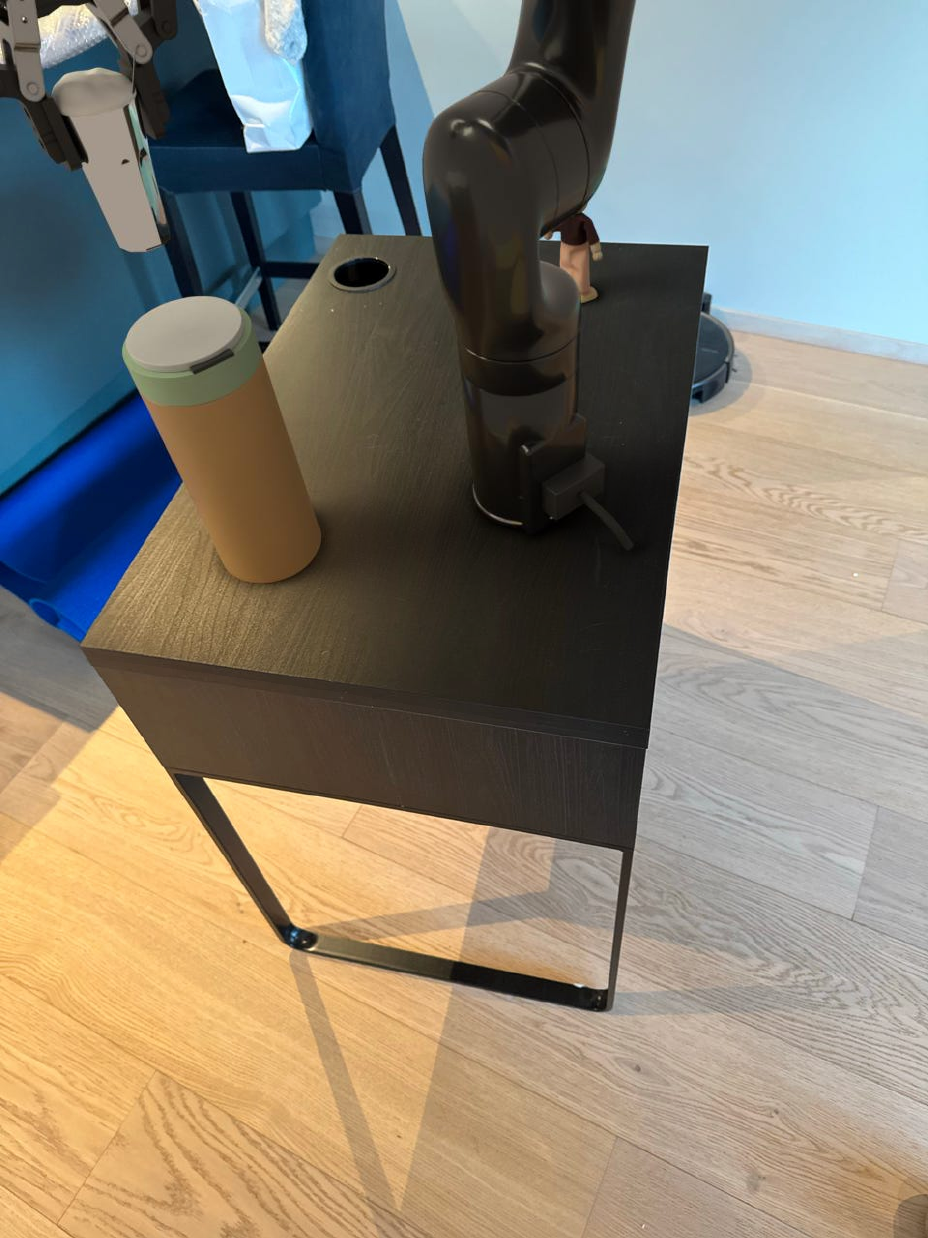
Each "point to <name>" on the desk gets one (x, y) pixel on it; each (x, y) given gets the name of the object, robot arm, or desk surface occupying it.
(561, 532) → the desk surface
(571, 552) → the desk surface
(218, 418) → the lidded travel tumbler
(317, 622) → the desk surface
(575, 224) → the grandmother figurine
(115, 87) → the milkshake
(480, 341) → the robot arm
